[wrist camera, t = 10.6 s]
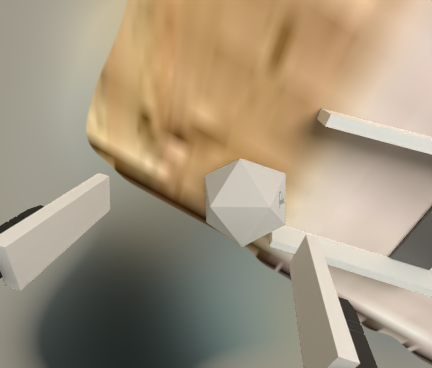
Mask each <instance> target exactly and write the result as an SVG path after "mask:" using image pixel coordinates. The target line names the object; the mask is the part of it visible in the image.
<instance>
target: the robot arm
mask: <svg viewBox="0 0 432 368" xmlns="http://www.w3.org/2000/svg"><path fill="white" fill-rule="evenodd" d="M109 210H110V187H109V176H106V175H103V174H100V173H98V174H96V175H95V176H93V177H91V178H90V179H88V180H87V181H85V182H83V183H82V184H80V185H79V186H77V187H75V188H74V189H72V190H70V191H69V192H67V193H66V194H64V195H62V196H61V197H59V198H58V199H56V200H54V201H53V202H51V203H49V204H48V205H46V206H45V207H44V206H41V205H40V206H37V207H34V208H31V209H28V210H26V211H25V212H23V213H21V214H20V215H18V216H17V217H14V218H13V219H11V220H9V222H6V223H4V224H3V225H1V226H0V278H3V281H4V283H5V285H6V286H9V287H12V288H14V289H17V290H22V289H23V288H24V287H25V286H26V285H27V284H29V283H30V282H31V281H32V280H33V279H34V278H35V277H36V276H37V275H38V274H39V273H41V272H42V271H43V270H44V269H45V268H46V267H47V266H48V265H49V264H51V263H52V262H53V261H54V260H55V259H56V258H57V257H58V256H59V255H60V254H62V253H63V252H64V251H65V250H66V249H67V248H68V247H69V246H70V245H72V244H73V243H74V242H75V241H76V240H77V239H78V238H79V237H80V236H81V235H83V234H84V233H85V232H86V231H87V230H88V229H89V228H90V227H91V226H93V225H94V224H95V223H96V222H97V221H98V220H99V219H100V218H101V217H103V216H104V215H105V214H106V213H107V212H108V211H109ZM289 266H290V274H291V281H292V288H293V295H294V302H295V310H296V317H297V324H298V331H299V338H300V346H301V353H302V359H303V367H304V368H377V365H376V362H375V360H374V357H373V355H372V352H371V350H370V347H369V344H368V342H367V340H366V337H365V335H364V332H363V329H362V326H361V325H360V321H359V319H358V316H357V313H356V311H355V310H354V308H353V307H352V305H351V304H350V303H349V301H348V300H346V299H343V298H339V297H338V296H337V293H336V290H335V287H334V284H333V281H332V278H331V275H330V272H329V269H328V266H327V263H326V260H325V257H324V254H323V251H322V248H321V245H320V242H319V239H318V238H317V237H313V236H310V235H305V237H304V239H303V240H302V242H301V244H300V246H299V248H298V249H297V251H296V253H295V255H294V257H293V258H292V260H291V262H290V264H289Z"/></svg>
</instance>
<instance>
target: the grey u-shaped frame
mask: <svg viewBox="0 0 432 368" xmlns="http://www.w3.org/2000/svg"><path fill="white" fill-rule="evenodd" d="M317 119H318V120H319V121H320V122H321V123H322V124H323V125H324V126H325V127H329V128H333V129H337V130H341V131H344V132H348V133H352V134H356V135H360V136H363V137H367V138H371V139H375V140H378V141H382V142H386V143H390V144H394V145H397V146H401V147H405V148H409V149H412V150H416V151H420V152H424V153H428V154H431V155H432V137H431V136H427V135H423V134H419V133H415V132H411V131H407V130H403V129H400V128H396V127H392V126H388V125H384V124H380V123H376V122H373V121H369V120H365V119H361V118H357V117H353V116H349V115H345V114H342V113H338V112H334V111H330V110H326V109H322V108H321V110H320V112H319V114H318V117H317ZM305 235H310V236H313V237H317V238H318V239H319V242H320V245H321V248H322V251H323V254H324V257H325V260H326V263H327V265H330V266H333V267H337V268H340V269H343V270H346V271H349V272H353V273H356V274H359V275H362V276H365V277H369V278H372V279H375V280H378V281H381V282H385V283H388V284H391V285H394V286H398V287H401V288H404V289H407V290H410V291H414V292H417V293H420V294H423V295H426V296H430V297H432V274H431V273H430V272H429V270H430V269H431V268H432V207H431V209H430V210H429V211H428V212H427V213H426V214H425V215H424V217H423V218H422V219H421V220H420V221H419V222H418V224H417V225H416V226H415V227H414V228H413V229H412V231H411V232H410V233H409V234H408V235H407V236H406V237H405V239H404V240H403V241H402V242H401V243H400V244H399V246H398V247H397V248H396V249H395V250H394V251H393V253H392V254H391V255H390V256H389V257H387V256H384V255H380V254H377V253H374V252H371V251H367V250H364V249H361V248H357V247H354V246H351V245H347V244H344V243H341V242H337V241H334V240H331V239H328V238H324V237H321V236H318V235H314V234H311V233H308V232H304V231H301V230H298V229H295V228H291V227H288V226H285V225H284V226H282V227H280V228H278V229H276V230H274V231H272V232H270V233H269V247H272V248H276V249H279V250H282V251H285V252H288V253H292V254H295V253H296V251H297V249H298V248H299V246H300V244H301V242H302V240H303V239H304V237H305Z"/></svg>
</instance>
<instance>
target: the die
mask: <svg viewBox="0 0 432 368" xmlns="http://www.w3.org/2000/svg"><path fill="white" fill-rule="evenodd" d="M205 200H206V222H207V223H208V224H210V225H211V226H213V227H214V228H215V229H217V230H218V231H220V232H221V233H223V234H224V235H225V236H227V237H228V238H230V239H231V240H233V241H234V242H235V243H237V244H238V245H240V246H241V247H243V246H245V245H247V244H249V243H251V242H253V241H255V240H257V239H259V238H261V237H263V236H264V235H266V234H268V233H270V232H272V231H274V230H276V229H278V228H280V227H282V226H284V225H286V174H285V173H282V172H279V171H277V170H274V169H271V168H268V167H265V166H262V165H260V164H257V163H254V162H251V161H248V160H246V159H238V160H236V161H234V162H232V163H230V164H228V165H226V166H223V167H221V168H219V169H217V170H215V171H213V172H211V173H208V174H206V175H205Z"/></svg>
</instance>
